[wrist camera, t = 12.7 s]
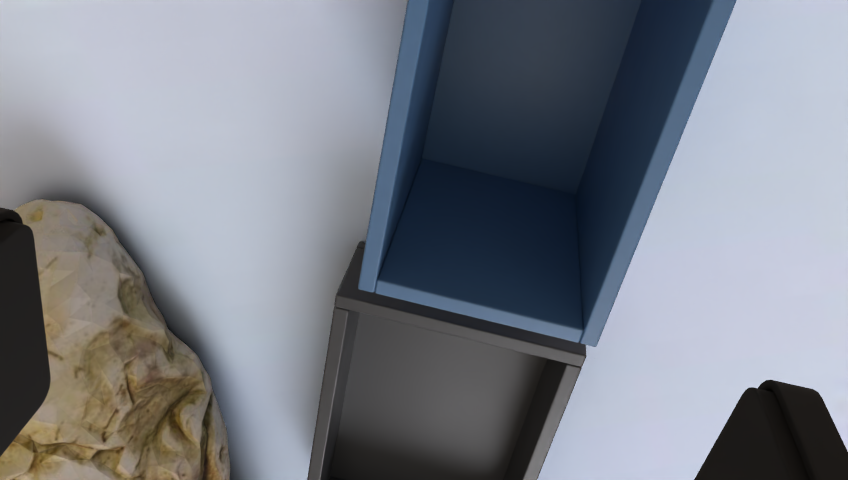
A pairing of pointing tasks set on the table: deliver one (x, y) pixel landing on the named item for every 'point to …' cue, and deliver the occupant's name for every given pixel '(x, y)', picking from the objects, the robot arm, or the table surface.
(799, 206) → the table surface
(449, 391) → the charcoal bin
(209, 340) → the table surface
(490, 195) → the blue bin
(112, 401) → the rock
